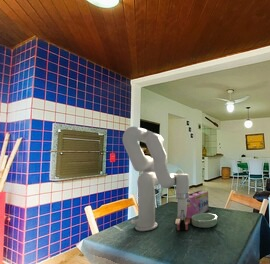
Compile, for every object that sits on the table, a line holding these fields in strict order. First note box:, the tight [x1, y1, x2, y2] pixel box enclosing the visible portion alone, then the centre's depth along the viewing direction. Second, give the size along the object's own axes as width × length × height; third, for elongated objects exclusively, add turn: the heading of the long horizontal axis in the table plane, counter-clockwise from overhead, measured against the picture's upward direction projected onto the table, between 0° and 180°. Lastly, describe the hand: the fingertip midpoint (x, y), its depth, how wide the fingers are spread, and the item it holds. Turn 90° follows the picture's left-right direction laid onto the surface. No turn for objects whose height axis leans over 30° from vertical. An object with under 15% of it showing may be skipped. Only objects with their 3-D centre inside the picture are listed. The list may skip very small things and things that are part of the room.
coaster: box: [174, 218, 191, 225], centre depth 125 cm, size 9×9×1 cm
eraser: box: [176, 222, 189, 231], centre depth 113 cm, size 6×3×3 cm, turn 95°
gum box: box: [186, 190, 210, 220], centre depth 142 cm, size 24×8×14 cm, turn 148°
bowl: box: [191, 212, 218, 229], centre depth 121 cm, size 15×15×4 cm
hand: (182, 228), depth 113 cm, fingers closed on eraser, 3 cm apart
